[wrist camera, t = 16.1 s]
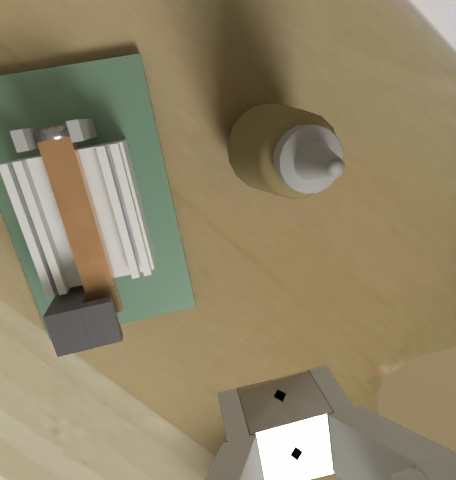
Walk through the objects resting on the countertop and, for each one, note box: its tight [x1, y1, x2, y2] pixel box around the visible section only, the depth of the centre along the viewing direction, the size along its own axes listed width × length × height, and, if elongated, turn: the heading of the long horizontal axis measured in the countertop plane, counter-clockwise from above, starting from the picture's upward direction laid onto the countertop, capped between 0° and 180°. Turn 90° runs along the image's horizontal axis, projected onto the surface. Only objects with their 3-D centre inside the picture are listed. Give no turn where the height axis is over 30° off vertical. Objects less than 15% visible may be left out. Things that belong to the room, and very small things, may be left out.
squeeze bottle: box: [228, 103, 345, 199], centre depth 31 cm, size 8×8×18 cm
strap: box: [35, 123, 123, 313], centre depth 33 cm, size 17×3×1 cm, turn 10°
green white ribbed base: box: [0, 53, 196, 340], centre depth 35 cm, size 26×16×8 cm, turn 10°
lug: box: [43, 285, 123, 357], centre depth 36 cm, size 4×6×8 cm
